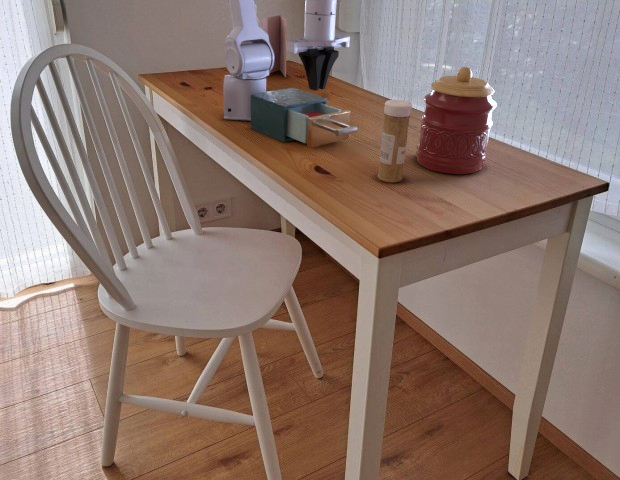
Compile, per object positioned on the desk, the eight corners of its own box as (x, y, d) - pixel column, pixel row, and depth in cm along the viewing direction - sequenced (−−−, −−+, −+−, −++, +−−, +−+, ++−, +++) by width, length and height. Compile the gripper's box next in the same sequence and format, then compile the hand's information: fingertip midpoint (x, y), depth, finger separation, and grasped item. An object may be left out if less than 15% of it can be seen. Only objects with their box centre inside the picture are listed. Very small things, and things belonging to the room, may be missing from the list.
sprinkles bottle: (406, 182, 104) (416, 105, 97) (381, 184, 103) (390, 105, 96) (397, 173, 108) (406, 98, 101) (373, 174, 107) (381, 98, 100)
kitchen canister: (411, 150, 119) (424, 58, 110) (475, 154, 119) (494, 61, 110) (419, 173, 108) (434, 73, 99) (490, 177, 108) (511, 77, 99)
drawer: (365, 144, 119) (368, 116, 116) (327, 154, 113) (329, 125, 110) (315, 126, 128) (316, 99, 125) (277, 134, 122) (278, 107, 119)
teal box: (325, 132, 127) (327, 98, 123) (283, 142, 120) (284, 106, 117) (292, 120, 134) (293, 87, 130) (250, 128, 127) (250, 94, 123)
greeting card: (276, 68, 179) (277, 14, 171) (299, 71, 177) (300, 16, 169) (259, 75, 170) (259, 18, 162) (282, 79, 168) (283, 21, 160)
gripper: (305, 18, 102) (302, 98, 110) (363, 13, 111) (357, 88, 118) (279, 13, 107) (278, 90, 114) (337, 9, 115) (332, 81, 122)
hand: (316, 89), depth 116 cm, fingers closed
